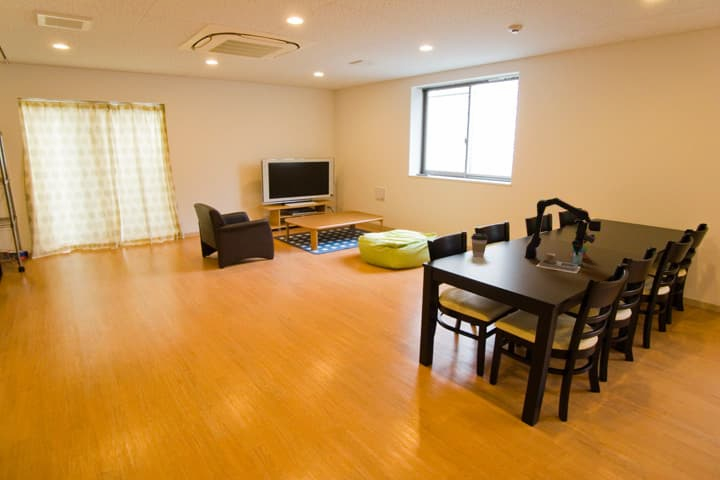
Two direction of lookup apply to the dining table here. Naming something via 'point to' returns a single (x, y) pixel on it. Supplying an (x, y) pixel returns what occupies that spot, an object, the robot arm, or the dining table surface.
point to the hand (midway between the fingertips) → (578, 253)
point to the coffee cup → (479, 244)
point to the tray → (560, 266)
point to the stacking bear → (581, 251)
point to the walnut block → (550, 258)
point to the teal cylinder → (577, 258)
